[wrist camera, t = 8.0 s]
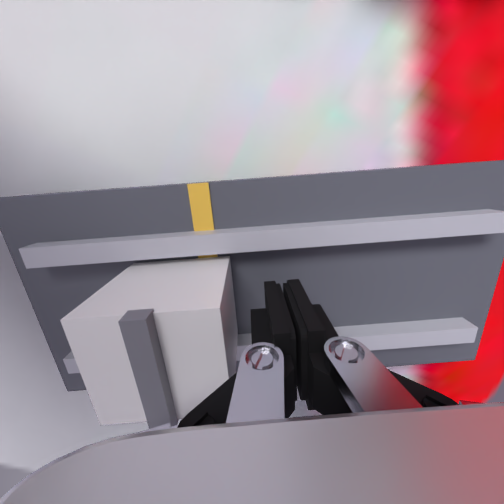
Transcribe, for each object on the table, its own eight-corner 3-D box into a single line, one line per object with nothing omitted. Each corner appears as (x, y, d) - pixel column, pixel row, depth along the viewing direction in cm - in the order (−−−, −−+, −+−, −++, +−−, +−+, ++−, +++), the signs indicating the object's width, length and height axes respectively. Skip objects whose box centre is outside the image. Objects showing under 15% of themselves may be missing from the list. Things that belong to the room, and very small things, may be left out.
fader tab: (132, 261, 12) (45, 327, 7) (229, 253, 12) (217, 314, 7) (151, 338, 13) (92, 441, 8) (237, 332, 14) (233, 430, 8)
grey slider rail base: (40, 194, 14) (-37, 200, 10) (473, 161, 14) (558, 156, 10) (96, 356, 18) (55, 406, 14) (437, 330, 18) (490, 372, 14)
